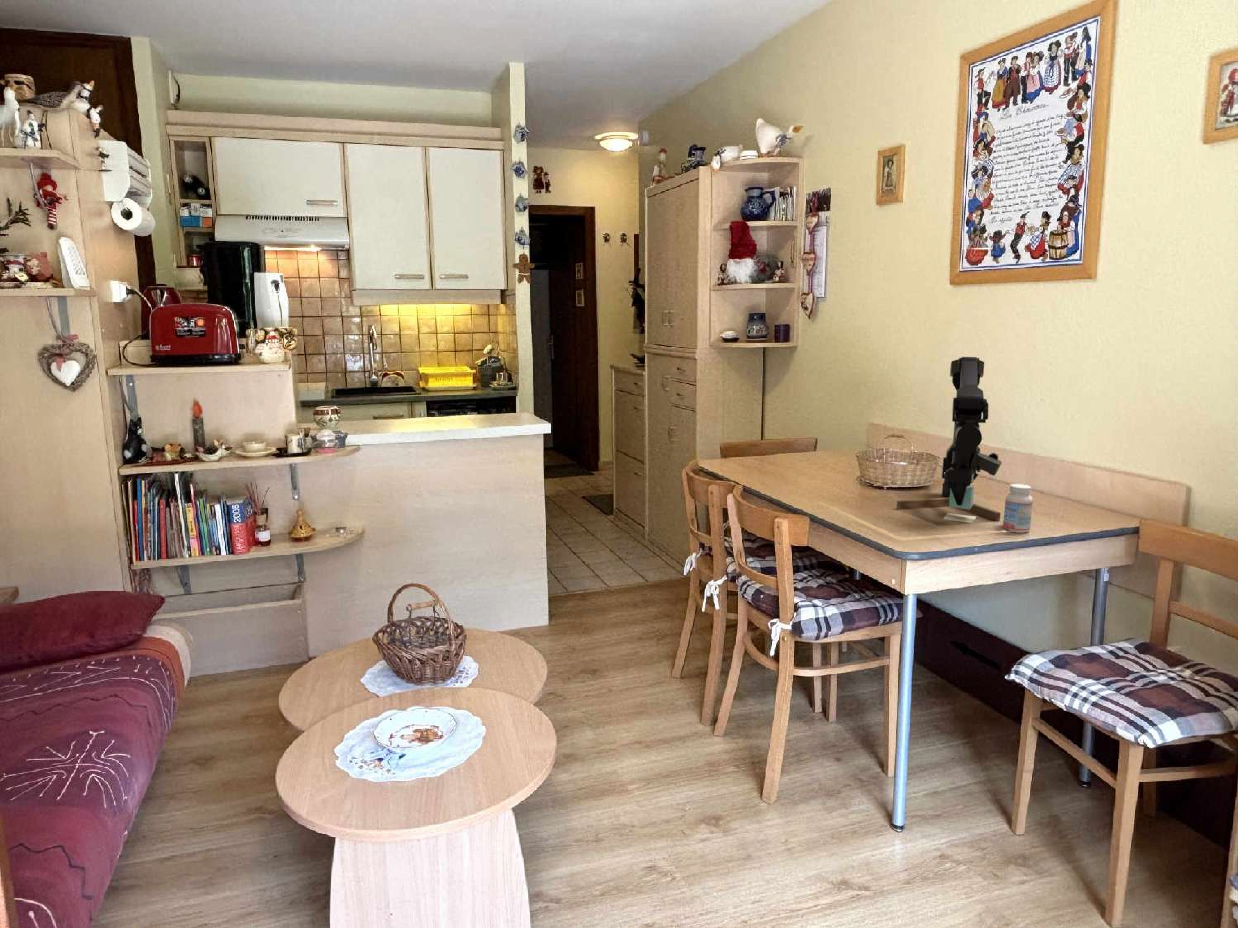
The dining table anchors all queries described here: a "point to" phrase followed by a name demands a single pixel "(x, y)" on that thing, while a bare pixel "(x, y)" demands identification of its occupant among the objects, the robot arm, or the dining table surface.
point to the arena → (946, 512)
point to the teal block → (966, 501)
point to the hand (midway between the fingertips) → (961, 503)
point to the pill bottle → (1018, 509)
